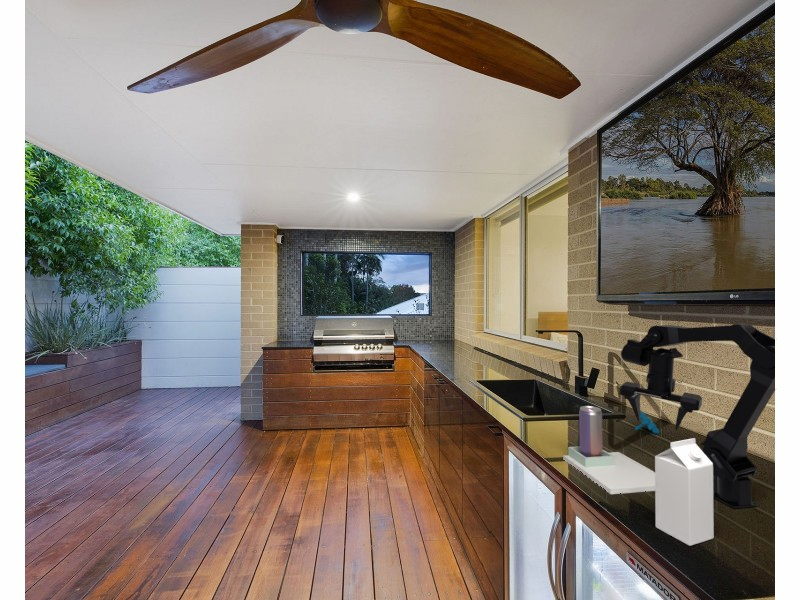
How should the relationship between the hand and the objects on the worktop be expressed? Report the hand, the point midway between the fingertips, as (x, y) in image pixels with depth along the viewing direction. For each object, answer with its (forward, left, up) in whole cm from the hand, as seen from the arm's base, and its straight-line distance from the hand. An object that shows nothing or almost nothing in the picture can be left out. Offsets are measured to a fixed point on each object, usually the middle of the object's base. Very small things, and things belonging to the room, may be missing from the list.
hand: (657, 424), depth 114 cm
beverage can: (+6, +16, -12) cm, 21 cm away
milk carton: (-29, +18, -13) cm, 36 cm away
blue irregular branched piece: (+30, -21, -13) cm, 39 cm away
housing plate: (0, +13, -13) cm, 18 cm away
